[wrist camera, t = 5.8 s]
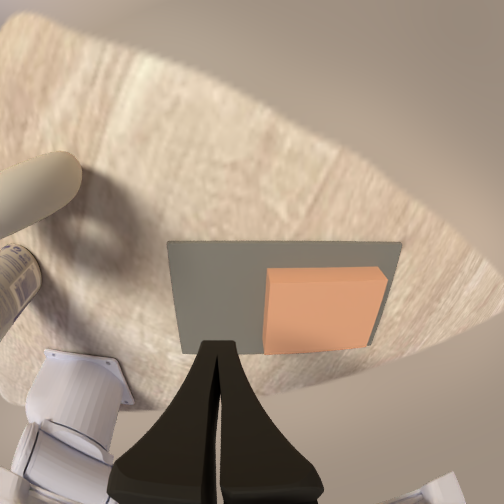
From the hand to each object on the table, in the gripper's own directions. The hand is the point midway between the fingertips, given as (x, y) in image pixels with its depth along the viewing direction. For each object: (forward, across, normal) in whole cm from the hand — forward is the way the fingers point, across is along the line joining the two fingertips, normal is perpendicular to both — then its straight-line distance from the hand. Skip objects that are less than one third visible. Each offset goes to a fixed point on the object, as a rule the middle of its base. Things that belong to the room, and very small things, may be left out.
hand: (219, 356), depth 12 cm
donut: (+11, +13, -6) cm, 18 cm away
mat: (+10, -5, +5) cm, 13 cm away
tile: (+9, -3, +5) cm, 11 cm away
